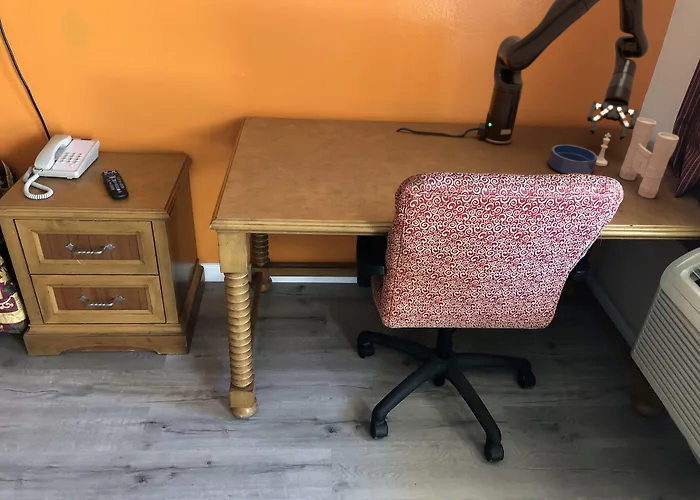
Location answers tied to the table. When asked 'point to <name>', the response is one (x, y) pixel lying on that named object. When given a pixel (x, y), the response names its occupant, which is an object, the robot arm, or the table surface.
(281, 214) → the table surface
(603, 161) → the chess piece
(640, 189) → the binoculars
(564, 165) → the bowl
